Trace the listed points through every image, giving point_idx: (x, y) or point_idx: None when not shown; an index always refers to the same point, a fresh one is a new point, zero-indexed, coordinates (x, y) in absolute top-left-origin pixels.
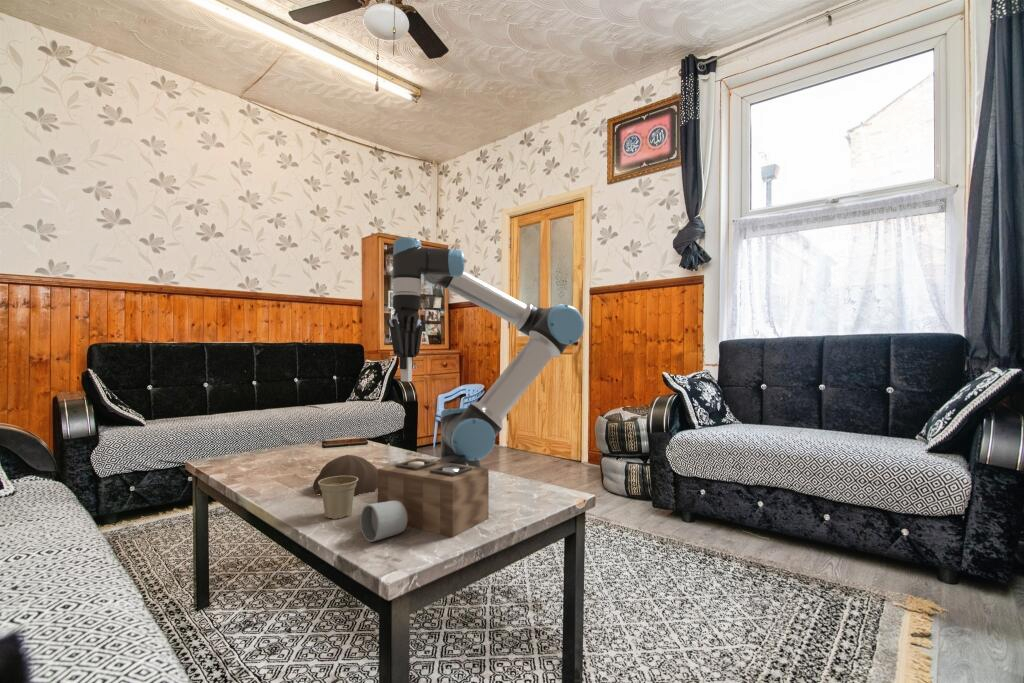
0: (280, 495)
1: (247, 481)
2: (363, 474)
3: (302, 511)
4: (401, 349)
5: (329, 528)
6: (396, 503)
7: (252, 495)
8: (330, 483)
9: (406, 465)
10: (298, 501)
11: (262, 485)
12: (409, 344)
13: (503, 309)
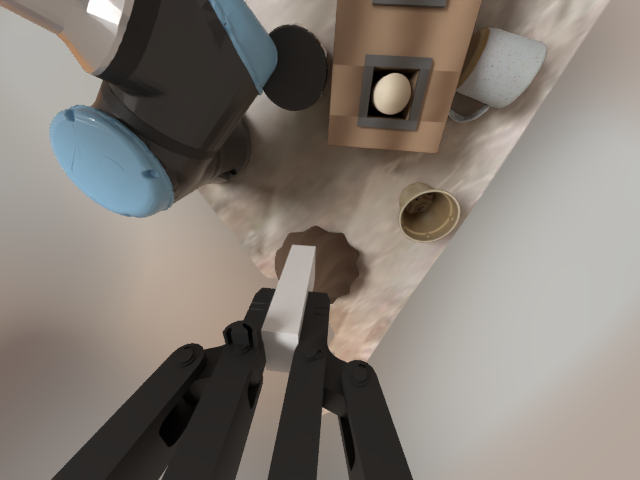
0: (375, 301)
1: (349, 355)
2: (323, 247)
3: (416, 244)
4: (367, 403)
5: (464, 171)
6: (497, 47)
7: (386, 322)
8: (414, 234)
9: (414, 102)
10: (386, 273)
11: (354, 337)
12: (228, 454)
13: None
